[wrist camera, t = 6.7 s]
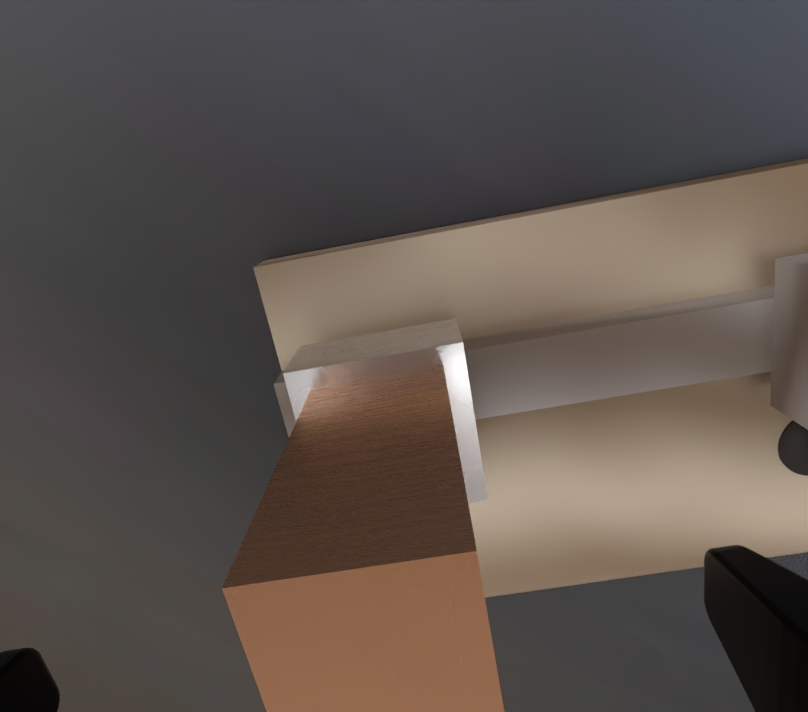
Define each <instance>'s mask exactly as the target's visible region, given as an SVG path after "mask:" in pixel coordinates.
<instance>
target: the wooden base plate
mask: <svg viewBox="0 0 808 712" xmlns="http://www.w3.org/2000/svg"><path fill="white" fill-rule="evenodd" d="M253 268H254V272H255V276H256V279H257V283H258V287H259V290H260V294H261V297H262V301H263V305H264V308H265V312H266V316H267V319H268V323H269V326H270V330H271V334H272V337H273V341H274V345H275V348H276V352H277V355H278V359H279V363H280V366H281V370H282V371H281V373H280V375H279V376H278V378H277V379H276V381H275V382H274V388H275V391H276V395H277V398H278V402H279V405H280V409H281V412H282V416H283V419H284V423H285V426H286V430H287V434H288V437H290V435H291V433H292V430H293V428H294V426H295V424H296V420H295V416H294V413H293V409H292V405H291V402H290V398H289V395H288V391H287V387H286V384H285V380H284V376H283V372H284V371H285V369H286V368H287V366H288V364H289V363H290V361H291V360H292V358H293V356H294V355H295V353H296V352H297V350H298V348H299V347H300V346H302V345H307V344H313V343H319V342H324V341H330V340H336V339H341V338H347V337H353V336H358V335H364V334H370V333H375V332H381V331H387V330H392V329H398V328H404V327H409V326H415V325H421V324H426V323H432V322H438V321H443V320H449V319H455V318H456V322H457V325H458V328H459V331H460V334H461V337H462V340H463V345H464V351H465V357H466V364H467V370H468V376H469V383H470V389H471V395H472V402H473V408H474V415H475V421H476V427H477V434H478V440H479V446H480V453H481V459H482V465H483V472H484V478H485V484H486V491H487V497H488V500H485V501H478V502H472V503H468V505H469V510H470V516H471V521H472V527H473V533H474V538H475V544H476V549H477V555H478V561H479V567H480V573H481V578H482V584H483V590H484V596H485V597H492V596H500V595H507V594H514V593H521V592H528V591H535V590H542V589H549V588H556V587H563V586H570V585H577V584H584V583H591V582H599V581H606V580H613V579H620V578H627V577H634V576H641V575H648V574H655V573H662V572H669V571H676V570H683V569H690V568H698V567H704V556H705V553H706V551H707V550H709V549H711V548H716V547H723V546H730V545H741V546H744V547H746V548H749V549H751V550H752V551H754V552H756V553H758V554H760V555H762V556H764V557H766V558H768V557H775V556H782V555H789V554H797V553H804V552H808V158H806V159H800V160H795V161H790V162H784V163H779V164H774V165H768V166H763V167H758V168H752V169H747V170H742V171H736V172H731V173H726V174H721V175H715V176H710V177H705V178H699V179H694V180H689V181H683V182H678V183H673V184H667V185H662V186H657V187H652V188H646V189H641V190H636V191H630V192H625V193H620V194H614V195H609V196H604V197H598V198H593V199H588V200H582V201H577V202H572V203H567V204H561V205H556V206H551V207H545V208H540V209H535V210H529V211H524V212H519V213H513V214H508V215H503V216H498V217H492V218H487V219H482V220H476V221H471V222H466V223H460V224H455V225H450V226H444V227H439V228H434V229H428V230H423V231H418V232H413V233H407V234H402V235H397V236H391V237H386V238H381V239H375V240H370V241H365V242H359V243H354V244H349V245H344V246H338V247H333V248H328V249H322V250H317V251H312V252H306V253H301V254H296V255H290V256H285V257H280V258H274V259H269V260H264V261H263V262H261V263H260V264H258V265H256V266H255V267H253Z"/></svg>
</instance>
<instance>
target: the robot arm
mask: <svg viewBox="0 0 808 712" xmlns="http://www.w3.org/2000/svg"><path fill="white" fill-rule="evenodd" d="M704 602H705V607H706V611H707V614H708V616H709V619H710V621H711V623H712V625H713V627H714V629H715V631H716V633H717V635H718V637H719V639H720V641H721V643H722V645H723V647H724V649H725V651H726V653H727V655H728V657H729V659H730V661H731V663H732V666H733V668H734V670H735V672H736V674H737V676H738V678H739V680H740V682H741V684H742V686H743V688H744V690H745V692H746V694H747V696H748V698H749V700H750V702H751V704H752V706H753V708H754V710H755V712H808V579H807V578H805V577H803V576H801V575H799V574H797V573H795V572H793V571H791V570H789V569H787V568H785V567H783V566H781V565H779V564H778V563H776V562H774V561H772V560H770V559H768V558H766V557H764V556H762V555H760V554H758V553H756V552H754V551H752V550H751V549H749V548H746V547H744V546H741V545H730V546H723V547H716V548H711V549H709V550H707V551H706V553H705V556H704ZM59 701H60V694H59V689H58V687H57V685H56V683H55V681H54V679H53V677H52V675H51V674H50V672H49V670H48V668H47V666H46V664H45V662H44V660H43V658H42V657H41V655H40V653H39V652H38V651H37V650H35V649H33V648H21V649H14V650H8V651H4V652H1V653H0V712H57V710H58V707H59Z"/></svg>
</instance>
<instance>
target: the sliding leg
mask: <svg viewBox="0 0 808 712" xmlns="http://www.w3.org/2000/svg"><path fill="white" fill-rule="evenodd" d="M283 376H284V380H285V384H286V387H287V391H288V395H289V398H290V402H291V405H292V409H293V413H294V416H295V420H296V424H295V426H294V428H293V430H292V433H291V435H290V437H289V439H288V442H287V444H286V446H285V448H284V451H283V453H282V455H281V457H280V460H279V462H278V464H277V466H276V468H275V471H274V473H273V475H272V477H271V480H270V482H269V484H268V486H267V489H266V491H265V493H264V495H263V498H262V500H261V502H260V504H259V507H258V509H257V511H256V513H255V515H254V518H253V520H252V522H251V524H250V527H249V529H248V531H247V533H246V536H245V538H244V540H243V542H242V545H241V547H240V549H239V551H238V554H237V556H236V558H235V560H234V562H233V565H232V567H231V569H230V571H229V574H228V576H227V578H226V580H225V583H224V585H223V587H222V590H223V593H224V596H225V598H226V601H227V604H228V607H229V609H230V612H231V615H232V618H233V620H234V623H235V626H236V629H237V631H238V634H239V637H240V640H241V642H242V645H243V648H244V650H245V653H246V656H247V659H248V661H249V664H250V667H251V670H252V672H253V675H254V678H255V681H256V683H257V686H258V689H259V692H260V694H261V697H262V700H263V703H264V705H265V708H266V711H267V712H504V707H503V701H502V695H501V689H500V684H499V678H498V672H497V666H496V660H495V654H494V649H493V643H492V637H491V631H490V625H489V619H488V613H487V608H486V602H485V596H484V590H483V584H482V578H481V573H480V567H479V561H478V555H477V549H476V544H475V538H474V533H473V527H472V521H471V516H470V510H469V505H468V503H472V502H478V501H485V500H488V497H487V491H486V484H485V478H484V472H483V465H482V459H481V453H480V446H479V440H478V434H477V427H476V421H475V415H474V408H473V402H472V395H471V389H470V383H469V376H468V370H467V364H466V357H465V351H464V345H463V340H462V337H461V334H460V331H459V328H458V325H457V322H456V318H455V319H449V320H443V321H438V322H432V323H426V324H421V325H415V326H409V327H404V328H398V329H392V330H387V331H381V332H375V333H370V334H364V335H358V336H353V337H347V338H341V339H336V340H330V341H324V342H319V343H313V344H307V345H302V346H300V347H299V348H298V350H297V352H296V353H295V355H294V356H293V358H292V360H291V361H290V363H289V364H288V366H287V368H286V369H285V371H284V372H283Z"/></svg>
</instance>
